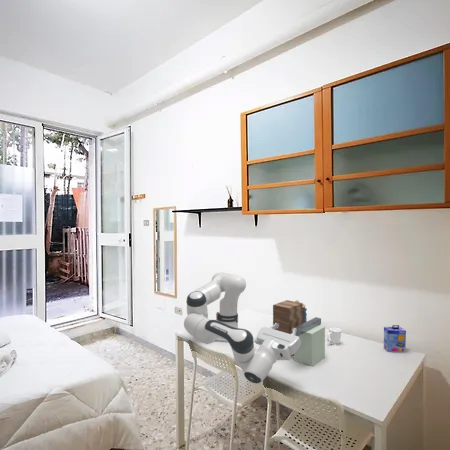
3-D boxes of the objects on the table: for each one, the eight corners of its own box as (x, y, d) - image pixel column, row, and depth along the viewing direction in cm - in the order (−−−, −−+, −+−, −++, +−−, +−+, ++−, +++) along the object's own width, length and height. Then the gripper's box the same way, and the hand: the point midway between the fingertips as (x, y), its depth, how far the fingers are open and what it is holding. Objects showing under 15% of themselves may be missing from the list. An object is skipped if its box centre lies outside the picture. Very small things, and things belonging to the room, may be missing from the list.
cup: (344, 344, 174) (344, 330, 174) (332, 347, 169) (332, 333, 169) (334, 340, 181) (334, 326, 180) (322, 343, 175) (322, 329, 175)
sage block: (312, 366, 147) (312, 333, 147) (294, 360, 154) (294, 328, 154) (324, 357, 157) (324, 326, 157) (307, 351, 164) (307, 322, 164)
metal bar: (298, 336, 145) (298, 329, 145) (292, 334, 147) (292, 328, 147) (321, 323, 162) (321, 318, 162) (315, 322, 164) (315, 317, 164)
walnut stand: (289, 358, 156) (288, 308, 156) (273, 352, 163) (273, 304, 163) (302, 349, 166) (302, 303, 166) (287, 344, 173) (287, 300, 173)
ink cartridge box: (387, 352, 163) (387, 325, 163) (383, 348, 169) (383, 322, 169) (406, 352, 163) (406, 326, 163) (401, 348, 168) (401, 322, 168)
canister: (306, 330, 198) (306, 303, 198) (286, 328, 202) (286, 301, 201) (307, 323, 210) (306, 298, 210) (288, 322, 214) (288, 297, 214)
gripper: (254, 347, 139) (269, 326, 148) (293, 361, 125) (307, 336, 134) (250, 337, 137) (266, 316, 146) (289, 350, 123) (304, 326, 131)
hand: (286, 326), depth 140 cm, fingers open, 8 cm apart
